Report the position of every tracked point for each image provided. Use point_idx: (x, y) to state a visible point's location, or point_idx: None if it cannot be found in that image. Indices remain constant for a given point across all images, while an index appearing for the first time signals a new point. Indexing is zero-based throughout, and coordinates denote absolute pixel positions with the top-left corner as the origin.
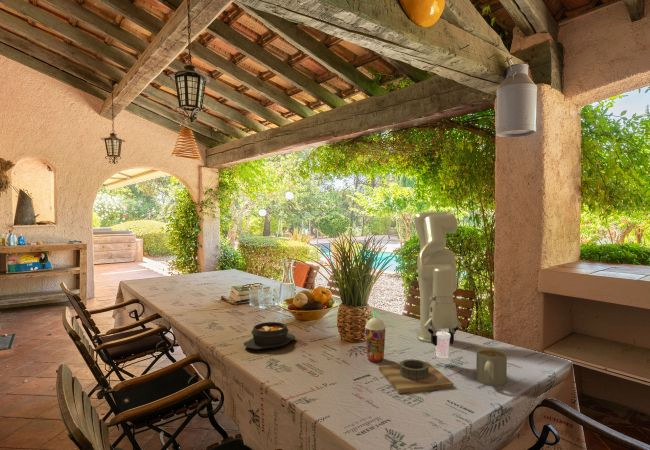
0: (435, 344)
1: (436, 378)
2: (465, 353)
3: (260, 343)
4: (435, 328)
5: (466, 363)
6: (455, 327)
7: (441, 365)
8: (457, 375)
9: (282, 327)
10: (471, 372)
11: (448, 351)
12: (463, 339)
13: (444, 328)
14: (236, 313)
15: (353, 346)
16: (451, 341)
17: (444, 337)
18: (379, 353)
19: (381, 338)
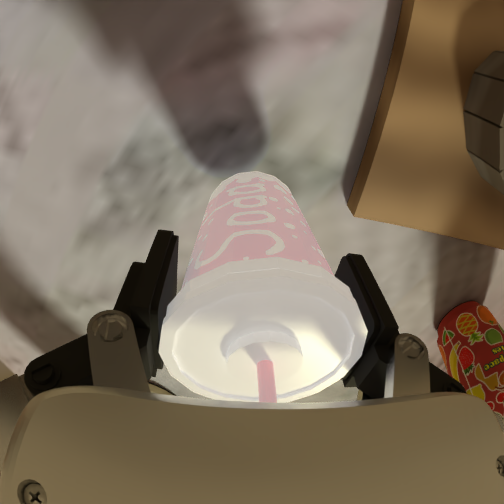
0: (363, 262)
1: (469, 12)
2: (51, 266)
3: None
4: (481, 399)
5: (98, 151)
6: (65, 388)
7: (269, 173)
8: (281, 6)
9: None
10: (155, 16)
11: (220, 198)
12: (30, 357)
13: (347, 410)
14: None
15: None
16: (172, 250)
17: (315, 276)
18: (489, 321)
19: None
